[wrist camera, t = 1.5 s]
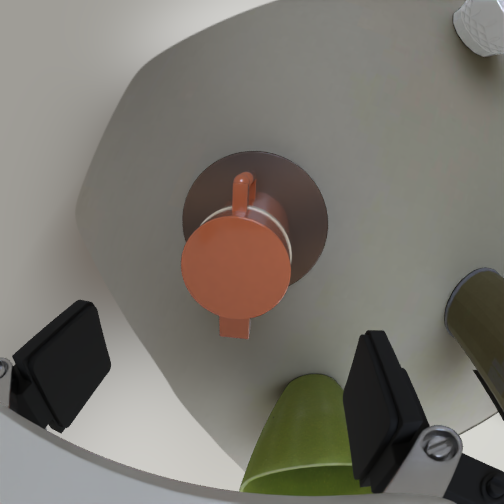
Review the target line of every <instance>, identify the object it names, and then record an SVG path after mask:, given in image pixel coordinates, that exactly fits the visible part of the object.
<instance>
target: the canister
mask: <svg viewBox="0 0 504 504" xmlns="http://www.w3.org/2000/svg"><path fill="white" fill-rule="evenodd" d="M445 325H446V329H447V331H448V332H449V334H450V335H451V336H452V337H454V338H455V339H456V340H457V342H458V343H459V344H460V346H461V347H462V348H463V350H464V351H465V353H466V354H467V356H468V357H469V358H470V360H471V361H472V363H473V364H474V366H475V367H476V369H477V370H473V371H474V373H475V374H476V376H477V377H478V379H479V380H480V382H481V384H482V385H483V387H484V388H485V390H486V392H487V393H488V395H489V397H490V398H491V400H492V401H493V403H494V405H495V407H496V408H497V410H498V412H499V413H500V415H501V417H502V419H503V421H504V278H502V277H501V276H500V275H499V273H498V272H497V271H495V270H493V269H490V268H481V269H477V270H474V271H473V272H472V273H470V274H469V275H467V276H466V277H465V278H464V279H463V280H462V281H461V282H460V283H459V284H458V285H457V287H456V288H455V290H454V292H453V293H452V295H451V297H450V299H449V301H448V304H447V307H446V311H445Z"/></svg>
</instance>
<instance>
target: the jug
mask: <svg viewBox="0 0 504 504" xmlns="http://www.w3.org/2000/svg"><path fill="white" fill-rule="evenodd" d="M256 191H257V173H256V172H255V171H254V170H248V171H245V172H243V173H241V174H239V175H237V176H236V177H235V178H234V180H233V195H232V199H230V200H229V201H228V202H227V203H226V204H225V205H223V206H222V207H221V208H220V209H219V210H217V211H215V212H214V213H212V214H211V215H210V216H209V217H207V218H206V219H205V220H204V221H203V223H202V224H201V225H200V227H198V228H197V229H196V230H195V231H194V232H193V233H192V235H191V236H190V237H189V239H188V240H187V242H186V244H185V246H184V249H183V252H182V258H181V271H182V276H183V280H184V282H185V285H186V287H187V289H188V291H189V292H190V294H191V295H192V297H193V298H194V299H195V300H196V301H197V302H198V303H199V304H200V305H201V306H202V307H204V308H205V309H207V310H208V311H210V312H212V313H214V314H216V315H218V316H219V331H220V336H222V337H231V338H241V339H249V336H250V331H251V318H254V317H257V316H260V315H262V314H264V313H266V312H268V311H269V310H271V309H272V308H273V307H275V306H276V305H277V304H278V303H279V302H280V301H281V299H282V298H283V296H284V295H285V293H286V291H287V289H288V286H289V283H290V277H291V261H292V250H291V243H290V238H289V222H288V217H287V214H286V212H285V210H284V208H283V207H282V205H281V204H280V203H279V202H278V201H277V200H276V199H274V198H273V197H271V196H270V195H267V194H265V193H261V192H256Z"/></svg>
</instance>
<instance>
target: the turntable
mask: <svg viewBox="0 0 504 504" xmlns="http://www.w3.org/2000/svg"><path fill="white" fill-rule="evenodd" d="M248 170H254V171H255V172H256V173H257V191H256V192H261V193H265V194H267V195H270V196H271V197H273V198H274V199H276V200H277V201H278V202H279V203H280V204H281V205H282V207H283V208H284V210H285V212H286V214H287V217H288V222H289V238H290V243H291V250H292V261H291V277H290V283H289V286H290V285H291V284H293V283H295V282H297V281H298V280H299V279H301V278H302V277H303V276H305V275H306V274H307V273H308V272H309V271H310V270H311V268H312V267H313V266H314V265H315V263H316V262H317V260H318V258H319V257H320V255H321V253H322V251H323V248H324V246H325V242H326V238H327V231H328V216H327V210H326V206H325V202H324V199H323V197H322V195H321V192H320V190H319V189H318V187H317V185H316V184H315V182H314V181H313V180H312V179H311V177H310V176H309V175H308V174H307V173H306V172H305V171H304V170H303V169H302V168H300V167H299V166H298V165H296V164H295V163H293V162H292V161H290V160H288V159H286V158H284V157H282V156H279V155H276V154H273V153H267V152H261V151H247V152H240V153H235V154H232V155H229V156H226V157H224V158H222V159H220V160H218V161H216V162H214V163H213V164H212V165H210V166H209V167H208V168H206V169H205V170H204V171H203V172H202V173H201V174H200V175H199V177H198V178H197V179H196V180H195V182H194V183H193V185H192V187H191V188H190V190H189V193H188V195H187V197H186V200H185V204H184V209H183V232H184V237H185V240H186V242H187V240H188V239H189V237H190V236H191V235H192V233H193V232H194V231H195V230H196V229H197V228H198V227H200V225H201V224H202V223H203V221H204V220H205V219H206V218H207V217H209V216H210V215H211V214H212V213H214V212H215V211H217V210H219V209H220V208H221V207H222V206H223V205H225V204H226V203H227V202H228V201H229V200H230V199H232V195H233V180H234V178H235V177H236V176H237V175H239V174H241V173H243V172H245V171H248Z"/></svg>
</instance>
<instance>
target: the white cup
mask: <svg viewBox="0 0 504 504" xmlns="http://www.w3.org/2000/svg"><path fill="white" fill-rule="evenodd" d="M453 24H454V26H455V29H456V31H457V34H458V35H459V37H460V38H461V40H462V41H463V42H464V44H465V45H466V46H467V47H469V48H470V49H471V50H472V51H473V52H474V53H476V54H478V55H481V56H483V57H486V56H493V55H496V54H504V0H467V1H466V2H464V4H463V6H461V7H460V8H459V9H458V10H457V11H456V12H455V13H454V14H453Z"/></svg>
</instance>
